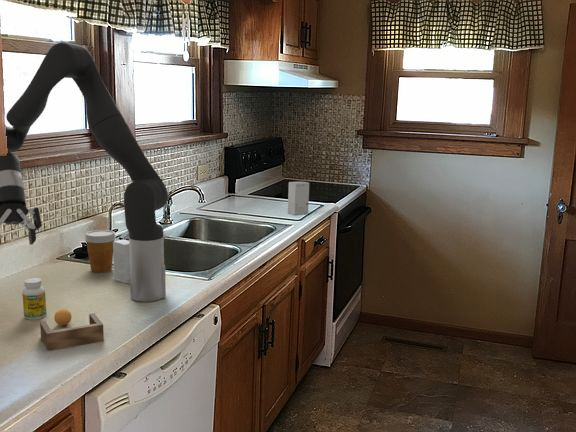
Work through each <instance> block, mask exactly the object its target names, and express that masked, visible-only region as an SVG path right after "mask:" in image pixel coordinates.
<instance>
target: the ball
mask: <svg viewBox="0 0 576 432" xmlns="http://www.w3.org/2000/svg"><path fill="white" fill-rule="evenodd" d="M53 320H54V322H55V323H56V324H57V325H58V326H61V327H62V326H66V325H69V323H70V322H71V321H72V313H71V311H70V310H68V309H65V308H62V309H59V310H57V311H56V312H55V313H54V316H53Z"/></svg>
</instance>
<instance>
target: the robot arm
mask: <svg viewBox="0 0 576 432" xmlns="http://www.w3.org/2000/svg"><path fill="white" fill-rule="evenodd" d="M65 78H67V79H68V78H69V79H72V80H73V81H74V83H75V84H76V85H77V87H78V89H79V91H80V92H81V95H82V97H83V99H84V102H85V112H86V113H85V114H86V120H87V124H88V127H89V129H90V130H91V132H92V134H93V136H94V138H95V139H96V141H97V143H98V145H99V146H100V147H101V149H102V150H104V151H105V152H106V154H108V155H109V156H110V157H111V158H112V159H113V160H115V161H116V162H117V163H118V164H119V165H120V166H121V167H122V168H123V169H124V170H125V172H126V173H127V174H128V176H129V177H130V180H131V181H130V183H129V184H128V185H127V186H126V187H125V191H124V195H123V208H124V220H125V221H124V222H125V226H126V230H127V232H128V241H129V256H130V283H129V284H130V285H129V288H130V289H129V292H130V299H131V300H133V301H135V302H142V303H144V302H154V301H155V302H156V301H159V300H162V299H166V297H167V296H166V295H167V293H166V288H167V287H166V265H165V261H164V260H165V258H164V256H165V255H164V254H165V253H164V252H165V251H164V227H163V226H162V225H160V224H158V223H157V221H156V220H157V219H156V211H158V210H160V209H162V208H164V206H166V204H167V202H168V198H169V193H168V189H167V187H166V185H165V183H164V182H163V180H162V178H161V176H160V175H159V174H158V173H157V172H156V170H155V169H154V167H153V165H152V164H151V162H150V161H149V160H148V158H147V157H146V156H145V154H144V152H143V150H142V148H141V146H140V144H139V142H138V141H137V140H136V138H135V136H134V135H133V133H132V131H131V129H130V127H129V125H128V123H127V122H126V120H125V118H124V116H123V114H122V113H121V111H120V110H119V108H118V107H117V104H116V103H115V101H114V98H113V97H112V95H111V94H110V92H109V90H108V88H107V87H106V85H105V82H104V80H103V78H102V76H101V74H100V72H99V69H98V67H97V65H96V62H95V61H94V58H93V56H92V55H91V52H90V51H89V50H88V49H87V48H86V47H84V46H83V45H81V44H77V43H71V42H61V41H60V42H56V43H55V44H53V45H52V46H51V47H50V49H49V50H48V51H47V53H46V55H45V56H44V58H43V60H42V61H41V64H40V65H39V67H38V69H37V71H36V73H35V74H34V76H33V78H32V79H31V81H30V83H29V84H28V85H27V87H26V89H25V90H24V92H23V93H22V95H21V96H20V97H19V98H18V99H17V100H16V102H14V104H13V105H12V106H11V108H9V110H8V112H7V113H6V116H5V117H6V121H7V122H8V124H9V125H10V126H8V125H5V126H6V136H7V148H8V153H7V155H6V156H0V228H1V227H2V226H3V224H5V225H8V226H9V225H15V226H16V225H21V226H22V227H23V228H25V229H26V230H27V231H28V233H27V235H28V241H29V242H28V243H29V245H30V246H31V245H32V246H33V245H34V243H36V241H37V236H36V235H37V234H36V231H39V230H40V229H41V228H42V226H43V225H42V224H43V223H42V219H41V214H40V208H39V207H36V206H35V207H34V208H28V207H27V202H26V201H27V200H26V193H25V184H24V179H23V177H22V176H23V175H22V167H21V161H20V158H19V157H18V155H16V154H14V152H17V151H19V150H20V149H21V148H22V147H23V145H24V143H25V140H26V138H27V135H28V133H29V131H30V129H31V127H32V125H34V123H35V122H37V120H38V118H39V117H40V116H42V114H43V112H44V110H45V109H46V106H47V103H48V99H49V96H50V94H51V92H52V90H53V89H54V88H55V86H57V85H58V84H59V83H60V82H61V81H62V80H64V79H65ZM11 126H12V127H11ZM28 214H29V215H30V217H31V218H32V219H33V223H32V221H31V219H30V218H29V217H28ZM1 237H2V236H1V235H0V245H1V243H2V238H1Z"/></svg>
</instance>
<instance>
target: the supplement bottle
mask: <svg viewBox="0 0 576 432" xmlns="http://www.w3.org/2000/svg"><path fill="white" fill-rule="evenodd" d="M23 282H24V285H23V286H24V288H23V290H22V292H21V293H22V307H23V317H24V319H25V320H29V321H36V320H41V319H44V318H45V317H47V303H46V301H47V300H46V299H47V298H46V290H45V288H44V286H42V285H43V283H42V279H41V278H38V277H34V278H27V279H25V280H24V281H23Z"/></svg>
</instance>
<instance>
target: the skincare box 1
mask: <svg viewBox="0 0 576 432" xmlns="http://www.w3.org/2000/svg"><path fill="white" fill-rule="evenodd" d="M113 279H114V280H115V281H116V282H121V283H125V284H130V256H129V239H118V240H114V242H113Z"/></svg>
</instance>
